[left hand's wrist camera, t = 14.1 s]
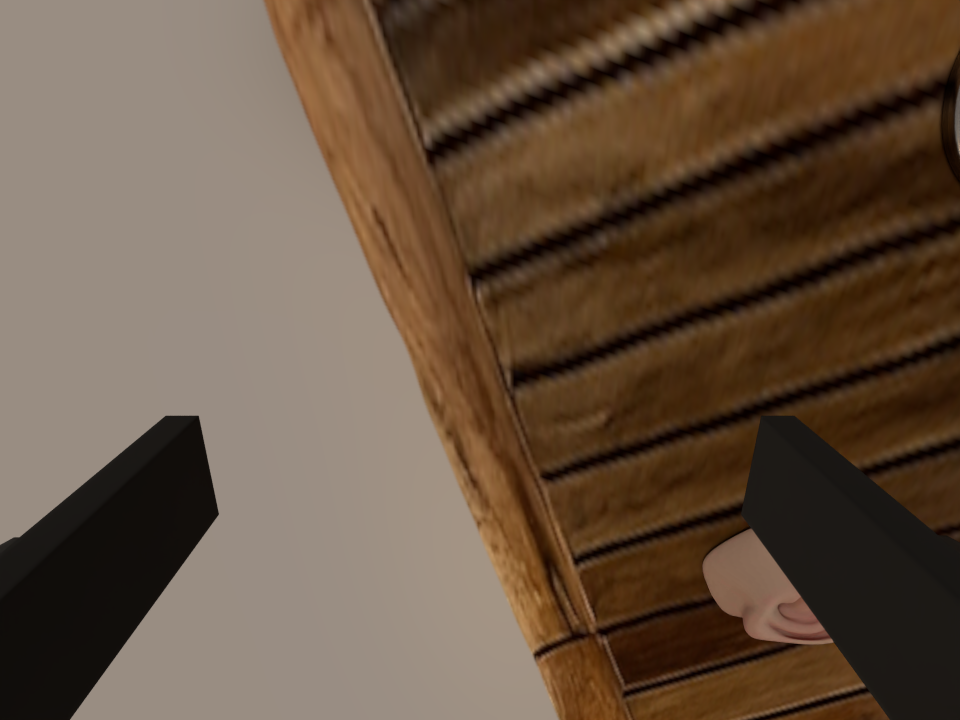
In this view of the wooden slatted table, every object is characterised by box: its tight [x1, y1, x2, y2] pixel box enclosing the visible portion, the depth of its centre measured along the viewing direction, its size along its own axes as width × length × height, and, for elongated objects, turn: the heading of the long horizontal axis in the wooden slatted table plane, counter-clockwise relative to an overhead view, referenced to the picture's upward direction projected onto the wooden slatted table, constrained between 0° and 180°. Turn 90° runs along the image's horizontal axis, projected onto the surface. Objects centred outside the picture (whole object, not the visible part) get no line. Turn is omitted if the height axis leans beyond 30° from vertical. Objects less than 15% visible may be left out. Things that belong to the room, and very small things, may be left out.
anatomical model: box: [703, 528, 833, 644], centre depth 45 cm, size 13×4×12 cm
